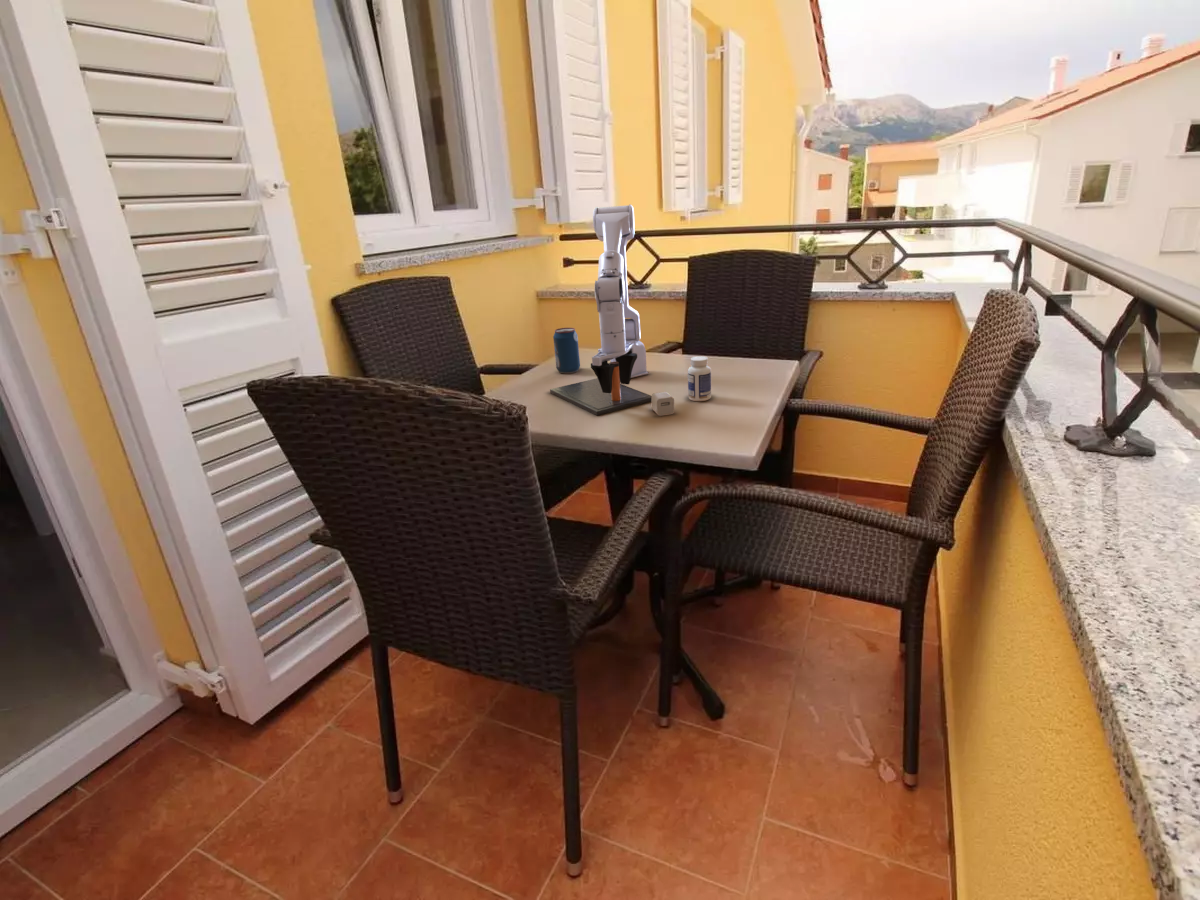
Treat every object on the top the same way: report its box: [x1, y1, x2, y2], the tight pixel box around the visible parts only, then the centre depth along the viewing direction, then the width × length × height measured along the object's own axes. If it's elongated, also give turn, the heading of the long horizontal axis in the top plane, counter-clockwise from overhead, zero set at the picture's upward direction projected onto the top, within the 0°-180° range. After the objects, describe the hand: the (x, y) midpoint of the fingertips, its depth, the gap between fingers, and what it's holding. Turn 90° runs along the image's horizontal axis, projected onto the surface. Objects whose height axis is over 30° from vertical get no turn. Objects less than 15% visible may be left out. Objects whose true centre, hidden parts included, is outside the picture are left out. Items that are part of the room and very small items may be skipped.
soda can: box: [552, 327, 581, 374], centre depth 179 cm, size 7×7×12 cm
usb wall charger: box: [651, 391, 675, 417], centre depth 142 cm, size 4×7×4 cm, turn 11°
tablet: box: [549, 377, 652, 416], centre depth 156 cm, size 16×24×1 cm, turn 31°
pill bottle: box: [687, 355, 712, 402], centre depth 147 cm, size 5×5×10 cm
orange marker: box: [608, 361, 621, 401], centre depth 148 cm, size 2×2×9 cm
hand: (616, 388), depth 148 cm, fingers open, 7 cm apart
